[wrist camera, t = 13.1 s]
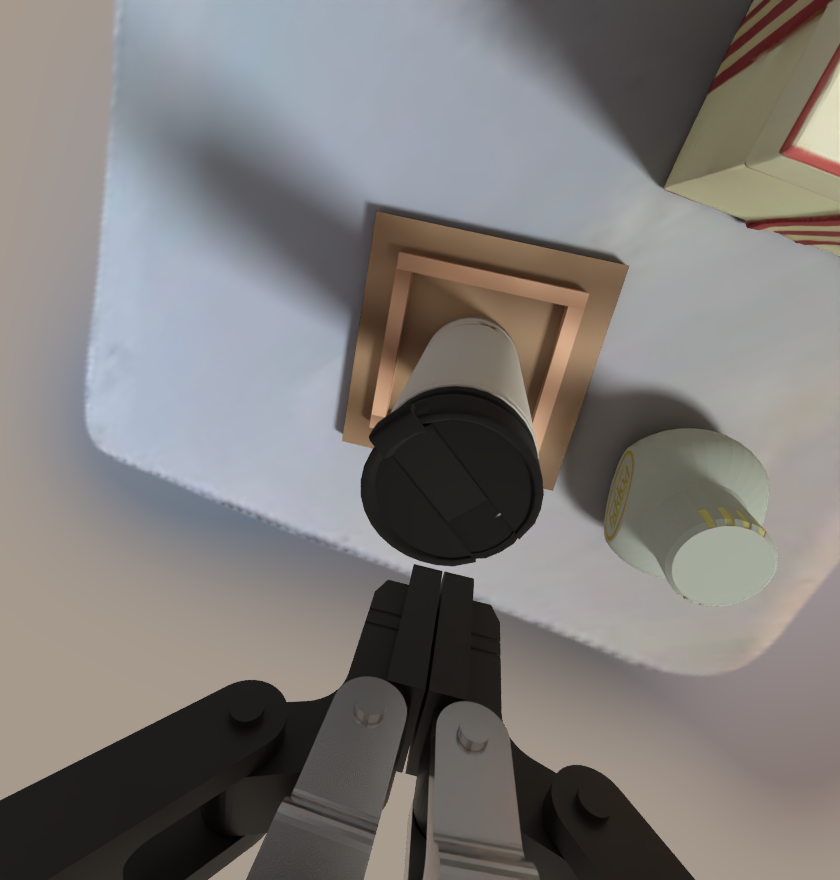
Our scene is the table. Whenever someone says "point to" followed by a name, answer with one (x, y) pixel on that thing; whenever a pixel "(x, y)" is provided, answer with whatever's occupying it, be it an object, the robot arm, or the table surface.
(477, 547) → the travel mug
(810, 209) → the gift box
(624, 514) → the air freshener
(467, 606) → the robot arm
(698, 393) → the table surface
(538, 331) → the tan square plate
